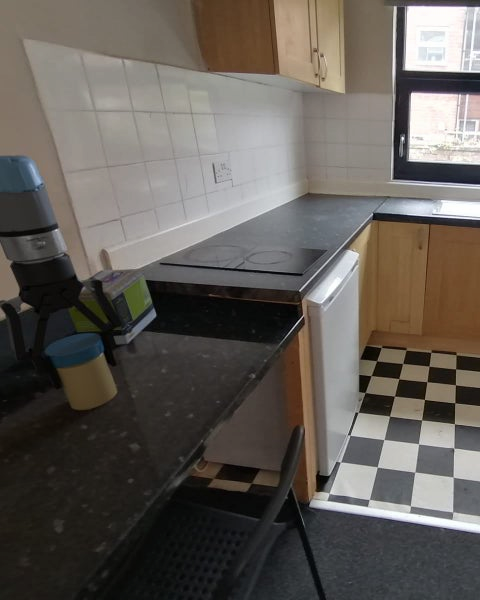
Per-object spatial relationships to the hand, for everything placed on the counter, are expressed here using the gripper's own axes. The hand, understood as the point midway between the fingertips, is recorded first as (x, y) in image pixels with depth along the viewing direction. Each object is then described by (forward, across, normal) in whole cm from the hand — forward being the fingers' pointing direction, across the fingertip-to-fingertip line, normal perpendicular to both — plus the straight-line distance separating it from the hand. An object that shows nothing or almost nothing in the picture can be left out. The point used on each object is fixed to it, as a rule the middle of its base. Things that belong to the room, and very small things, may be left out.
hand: (85, 374), depth 74 cm
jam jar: (+5, 0, 0) cm, 5 cm away
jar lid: (-6, 0, 0) cm, 6 cm away
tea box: (+5, +14, +22) cm, 27 cm away
